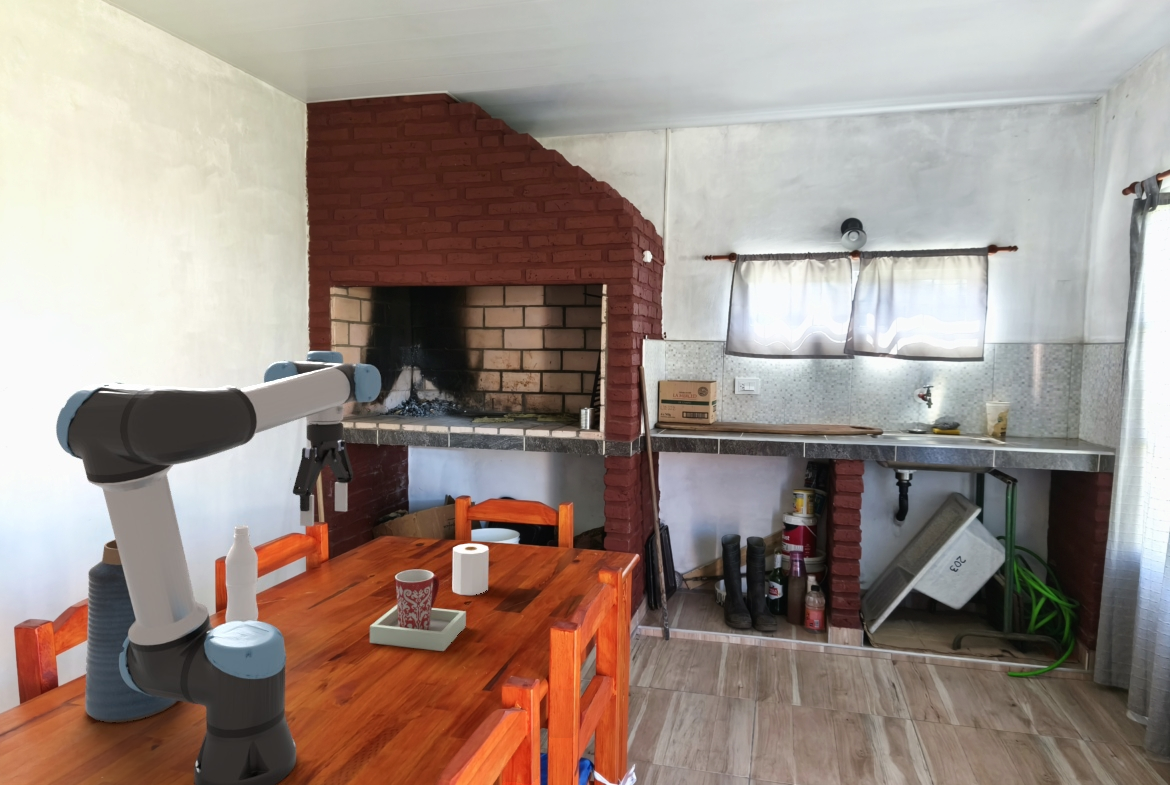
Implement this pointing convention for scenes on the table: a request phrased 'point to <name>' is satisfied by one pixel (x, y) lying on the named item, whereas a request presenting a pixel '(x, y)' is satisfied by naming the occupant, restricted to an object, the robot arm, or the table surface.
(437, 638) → the tray
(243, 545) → the water bottle
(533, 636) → the table surface
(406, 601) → the mug
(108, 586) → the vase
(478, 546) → the toilet paper
